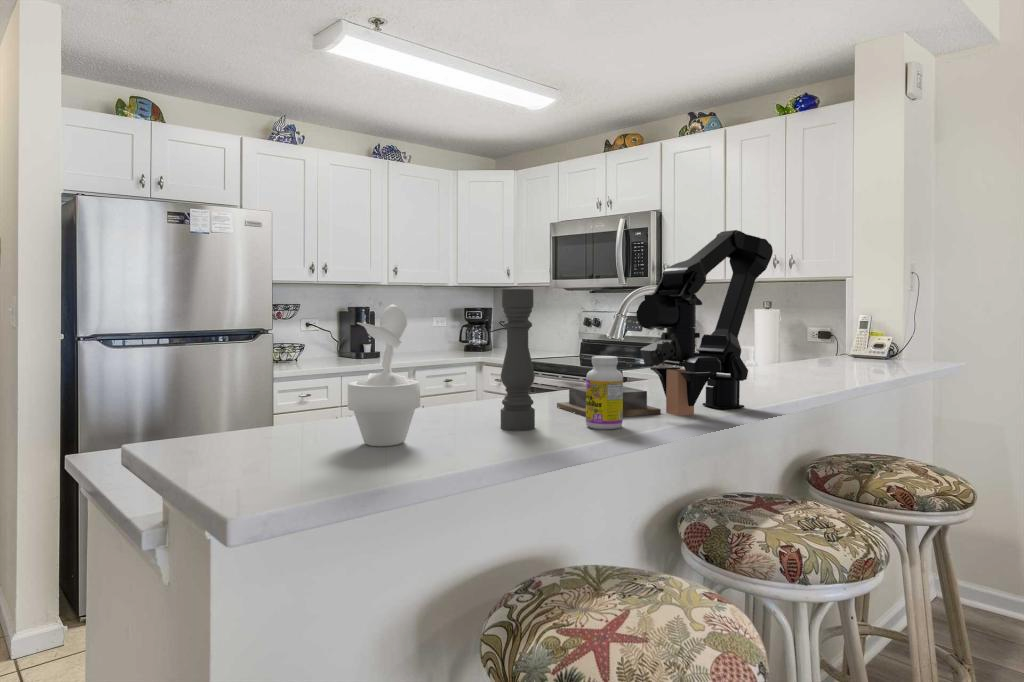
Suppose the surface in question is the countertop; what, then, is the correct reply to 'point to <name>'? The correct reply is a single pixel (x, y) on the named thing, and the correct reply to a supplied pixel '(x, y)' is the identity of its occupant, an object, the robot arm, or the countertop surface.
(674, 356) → the robot arm
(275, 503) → the countertop surface
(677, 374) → the peg
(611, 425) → the supplement bottle
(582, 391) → the socket
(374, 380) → the potted plant
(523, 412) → the candle holder
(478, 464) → the countertop surface
